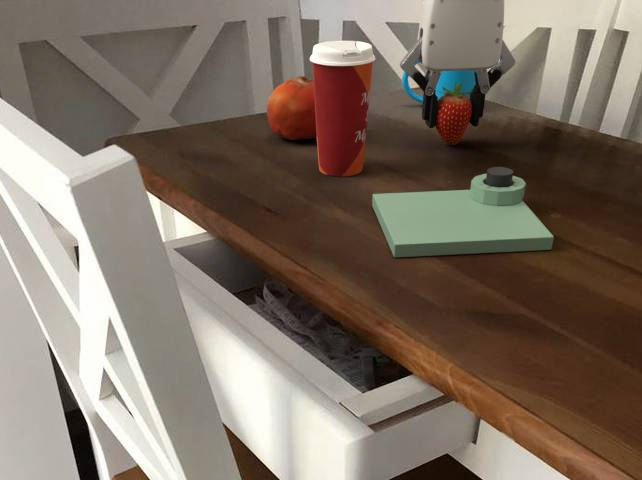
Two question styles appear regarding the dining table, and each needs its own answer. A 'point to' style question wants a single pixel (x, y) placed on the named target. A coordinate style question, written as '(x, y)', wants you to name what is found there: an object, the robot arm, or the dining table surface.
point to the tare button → (499, 177)
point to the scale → (461, 221)
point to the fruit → (453, 115)
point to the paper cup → (341, 104)
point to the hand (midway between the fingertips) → (451, 123)
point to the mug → (445, 83)
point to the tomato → (293, 109)
